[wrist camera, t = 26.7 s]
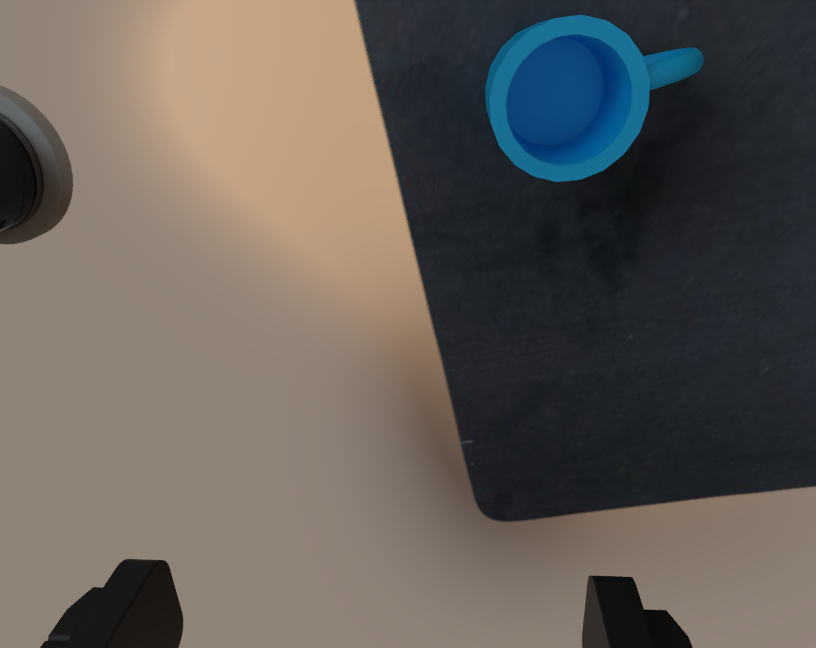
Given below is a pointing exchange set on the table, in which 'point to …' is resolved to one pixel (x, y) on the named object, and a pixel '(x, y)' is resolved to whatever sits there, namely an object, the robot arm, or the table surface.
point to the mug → (575, 94)
